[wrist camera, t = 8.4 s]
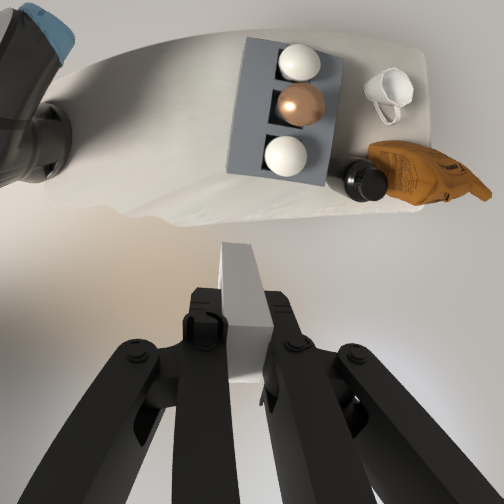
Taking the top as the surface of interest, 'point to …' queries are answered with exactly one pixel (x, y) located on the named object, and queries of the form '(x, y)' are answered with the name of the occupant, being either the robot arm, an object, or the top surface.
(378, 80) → the cup
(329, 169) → the supplement bottle
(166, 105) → the top surface
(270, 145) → the knob
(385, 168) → the coffee package
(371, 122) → the top surface
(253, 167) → the grey pod holder
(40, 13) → the robot arm
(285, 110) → the brown lidded jar
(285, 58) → the knob
